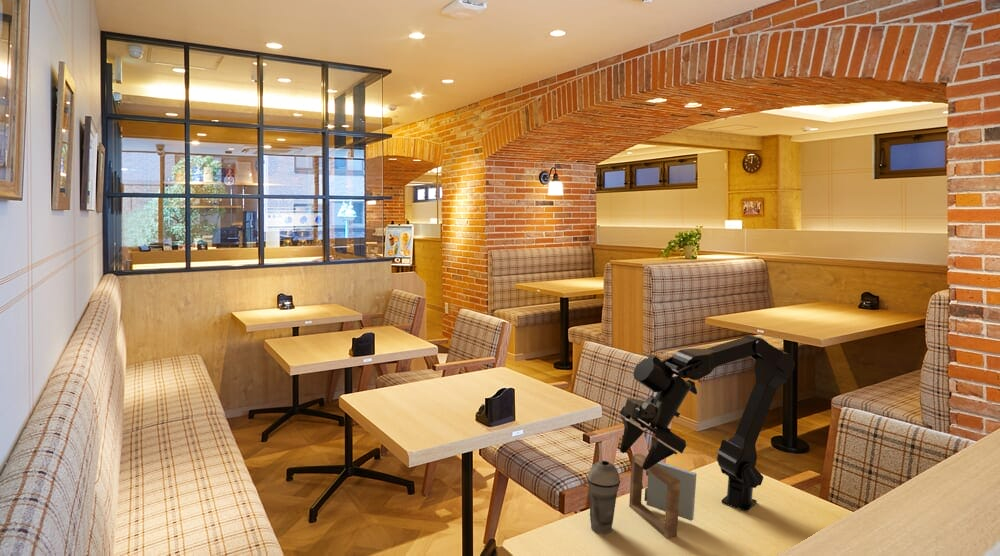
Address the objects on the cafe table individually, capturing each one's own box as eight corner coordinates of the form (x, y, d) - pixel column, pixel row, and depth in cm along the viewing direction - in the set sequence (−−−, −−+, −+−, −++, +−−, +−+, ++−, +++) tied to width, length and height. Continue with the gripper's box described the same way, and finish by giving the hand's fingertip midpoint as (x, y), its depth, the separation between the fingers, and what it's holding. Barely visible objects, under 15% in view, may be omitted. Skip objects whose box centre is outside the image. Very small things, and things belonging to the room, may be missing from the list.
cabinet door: (647, 500, 147) (649, 457, 145) (695, 517, 139) (698, 471, 138) (643, 503, 145) (645, 459, 143) (691, 520, 138) (694, 474, 136)
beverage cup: (617, 539, 131) (622, 451, 129) (583, 535, 133) (587, 447, 130) (617, 522, 138) (622, 438, 136) (585, 518, 140) (589, 435, 137)
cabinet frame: (638, 504, 147) (640, 453, 145) (676, 536, 133) (680, 480, 131) (629, 506, 146) (632, 454, 144) (667, 538, 132) (670, 482, 130)
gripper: (621, 373, 144) (586, 430, 142) (667, 397, 126) (629, 463, 125) (653, 394, 147) (620, 450, 146) (703, 421, 130) (666, 484, 129)
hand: (632, 460), depth 136 cm, fingers open, 9 cm apart
